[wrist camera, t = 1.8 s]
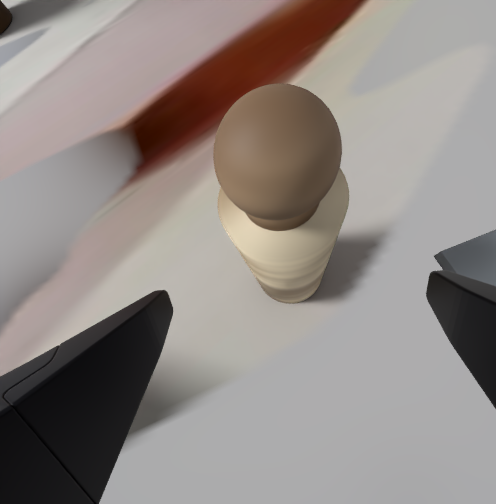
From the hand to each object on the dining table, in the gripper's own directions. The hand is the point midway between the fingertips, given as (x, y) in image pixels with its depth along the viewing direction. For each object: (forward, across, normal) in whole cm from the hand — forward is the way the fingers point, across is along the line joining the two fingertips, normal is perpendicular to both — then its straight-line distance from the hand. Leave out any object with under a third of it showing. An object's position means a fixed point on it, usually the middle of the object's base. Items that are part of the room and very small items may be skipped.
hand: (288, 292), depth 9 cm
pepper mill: (+10, 0, +5) cm, 11 cm away
